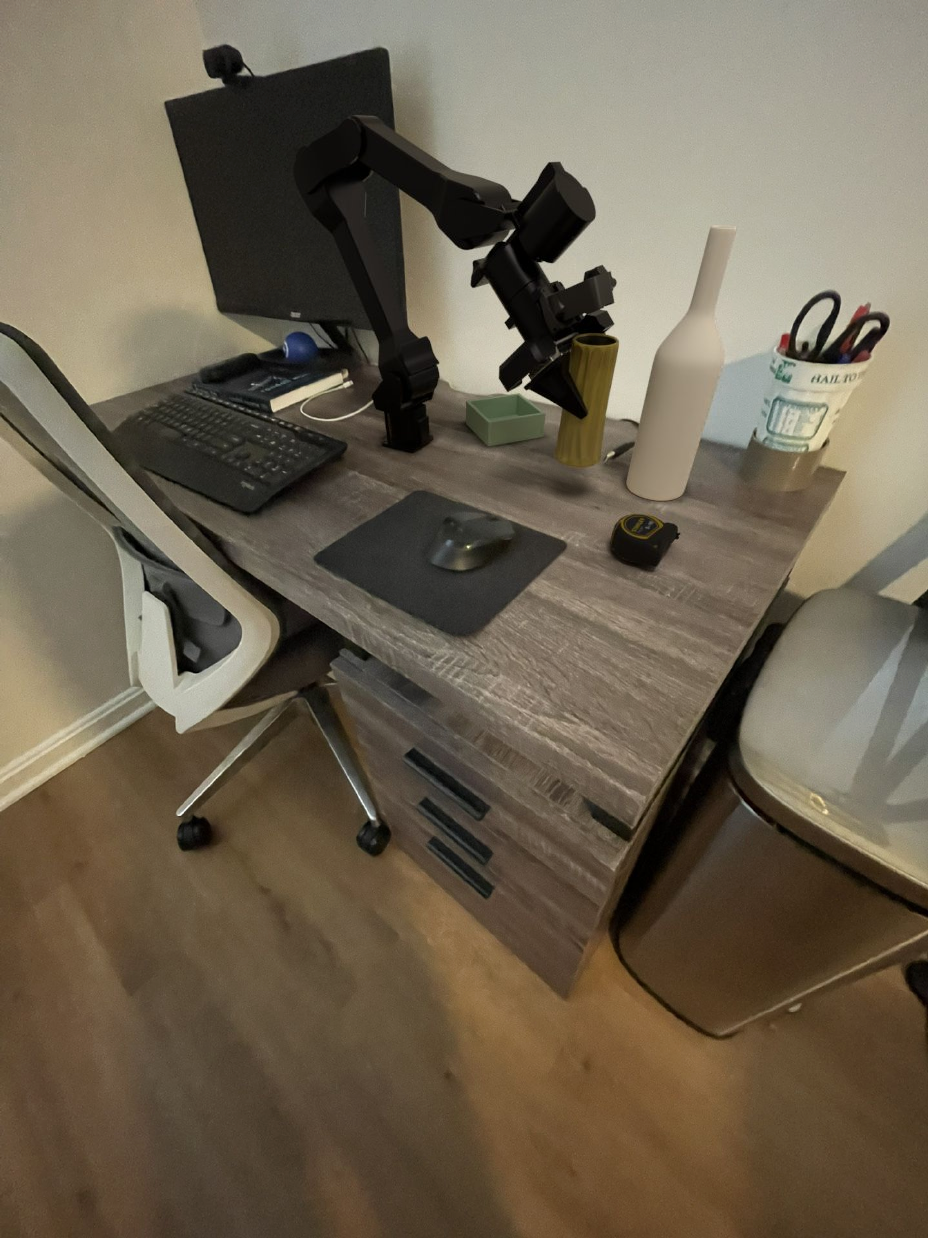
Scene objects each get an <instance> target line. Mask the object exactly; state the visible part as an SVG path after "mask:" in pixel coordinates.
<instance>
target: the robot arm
mask: <svg viewBox="0 0 928 1238" xmlns="http://www.w3.org/2000/svg"><path fill="white" fill-rule="evenodd" d="M374 173H375V174H377V175H378V176H380V177H381V178H383V179H384V180H385V181H387V182H388V183H390V184H391V185H393V186H394V187H396V188H397V189H398V190H400V191H401V192H403V193H404V194H406V195H407V196H409V197H410V198H411V199H413V200H414V201H416V202H417V203H418V204H420V205H421V206H423V207H424V208H425V209H426V210H428V211H429V212H430V214H432V217H433V219H434V222H435V224H436V226H437V228H438V229H439V230H440V231H441V232H442V233H443V234H444V236H446V237H447V238H448V239H449V240H450V242H451V243H453V245H454V246H456V248H458V249H460V250H462V251H472V250H475V249H481V248H486V247H490V246H492V247H491V249H490V250H489V251H488V253H487V254H486V255H485V256H484V257H481V258H478V259H474V260H472V271H471V274H470V287H471V288H472V289H476V288H479V287H482V286H487V285H489V286H490V287H491V289H492V291H493V293H494V294H495V296H496V297H497V300H499V302H500V303H501V305H502V307H503V308H504V310H505V312H506V313H507V316H508V318H507V319H506V320H505V321H504V322H503V323H504V325H505V326H506V328H507V330H508V331H510V330H512V329H515V328H516V330H517V331H518V333H519V335H520V336H521V338H522V340H523V342H522V343H521V344H520V345H519V346H518V347H517V348H516V349H515V350H514V351H513V352H512V353H511V354H510V355H509V356H508V357H507V358H506V359H504V361H503V362H502V363H501V364H500V365H499V366H498V380H499V381H500V384H501V385H502V386H503V388H504V389H505V391H506V393H509V392H511V391H513V390H515V389H517V388H519V387H520V386H521V385H523V379H525V378H526V377H527V376H528V378H529V379H530V380H529V382H527V383H526V384H525V385H524V386H523V389H524V390H525V391H531V392H532V393H535V394H536V395H538V396H541V397H542V398H544V399H546V400H547V401H550V402H551V403H553V404H555V405H556V406H558V407H560V408H561V409H562V408H563V409H564V410H566V411H568V412H569V413H571V414H572V415H574V416H576V417H577V418H579V419H583V418H585V417H586V416H587V415H588V411H587V409H586V406H585V404H584V401H583V399H582V397H581V395H580V393H579V391H578V389H577V387H576V385H575V383H574V381H573V378H572V376H571V374H570V372H569V364H570V354H571V347H572V340H573V338H574V337H575V336H577V335H580V334H588V333H597V334H606V333H607V331H609V330H610V329H611V328H612V327H614V326H615V322H614V320H613V318H612V317H611V315H610V313H609V311H608V310H605V307H608V306H610V305H613V304H615V298H614V297H615V296H614V293H613V292H614V289H615V287H616V286H617V279H616V278H615V277H613V276H612V270H609V271H608V269H606V267H605V266H604V265H603V264H601V265H598V266H595V267H594V268H591V269H589V270H586V271H584V274H583V280H582V281H580V282H577V283H576V284H573V285H571V286H568V287H567V288H566V287H565V285H564V284H563V282H562V281H559V280H555V281H550V280H549V277H548V276H547V275H546V273H545V271H544V269H543V268H542V266H541V263H544V262H545V263H547V264H555V263H557V261H558V260H559V259H560V258H561V257H562V256H563V255H564V254H565V253H566V252H567V250H568V249H570V247H571V246H572V245H573V244H574V242H575V241H576V240H577V239H578V238H579V237H581V235H582V234H583V233H584V232H585V230H586V229H587V228H589V226H590V225H591V224H592V223H593V222H594V221H595V219H596V217H597V215H596V214H597V210H596V205H595V203H594V200H593V198H592V195H591V194H590V191H589V189H588V188H587V187H585V186H583V185H582V184H581V183H580V181H579V180H578V179H577V177H575V176H574V175H572V174H571V173H570V172H569V171H567V170H566V169H565V168H564V166H563V164H562V163H561V161H548V162H547V163H546V165H545V166H544V167H543V169H542V170H541V172H540V173H539V176H538V178H537V180H536V181H535V183H534V184H533V185H532V187H531V188H530V190H529V191H528V192H527V193H526V195H525V196H524V198H523V199H522V200H520V199H516V198H512V195H511V193H510V191H509V190H508V189H507V188H506V187H505V186H504V185H503V184H501V183H499V182H496V181H493V180H490V179H487V178H485V177H482V176H477V175H473V174H469V173H464V172H460V171H457V170H455V169H452V168H451V167H449V166H448V165H446V164H444V163H443V162H442V161H439V160H438V159H437V158H436V157H434V156H432V155H431V154H429V153H428V152H426V151H424V150H423V149H422V148H420V147H419V146H417V145H415V143H413V142H411V141H409V140H408V139H407V138H405V137H404V136H402V135H401V134H399V133H398V132H396V131H395V130H394V129H392V128H391V127H389V126H388V125H387V124H386V123H385V122H384V121H383V120H382V119H380V118H379V117H378V116H375V115H361V114H359V115H357V114H352V115H349V116H347V118H345V119H343V120H342V122H341V123H340V124H339V125H338V126H337V127H336V128H334V129H331V131H329V132H327V133H326V134H324V135H321V136H320V137H319V138H317V139H315V140H313V141H312V142H311V143H310V144H309V145H302V146H300V147H299V148H298V150H297V152H296V154H295V158H294V161H293V166H292V176H293V180H294V184H295V187H296V189H297V191H298V193H299V195H300V196H301V198H302V200H303V202H304V203H305V205H306V208H307V209H308V211H309V212H310V214H311V216H312V217H313V218H314V219H315V220H316V221H318V222H319V224H321V225H322V227H324V228H325V230H327V231H328V232H329V233H330V235H332V237H333V240H334V242H335V245H336V246H337V249H338V251H339V253H340V256H341V259H342V261H343V262H344V266H345V267H346V270H347V273H348V275H349V277H350V279H351V281H352V284H353V286H354V289H355V291H356V293H357V295H358V297H359V301H360V303H361V305H362V307H363V309H364V312H365V314H366V317H367V319H368V321H369V324H370V326H371V328H372V331H373V334H374V336H375V338H376V340H377V343H378V356H377V368H378V371H379V374H380V378H381V382H380V383H379V385H377V387H376V388H375V389H374V391H373V392H372V394H371V395H370V396H371V400H372V402H373V406H374V408H375V410H376V411H380V412H382V413H383V419H384V427H385V435H386V438H385V439H383V440H381V441H380V445H381V446H385V447H387V448H392V449H395V450H400V451H404V452H408V453H415V452H417V451H418V450H420V449H421V448H422V447H424V446H425V445H427V444H428V443H429V442H431V441H433V440H434V435H433V434H431V433H430V431H431V429H430V418H429V417H430V416H429V414H427V403H426V402H429V401H432V400H433V397H434V393H435V390H436V389H437V386H438V384H439V379H440V378H441V375H440V370H439V367H438V365H440V360H439V359H438V358H437V356H436V355H435V352H434V350H433V346H432V342H431V340H430V338H429V337H428V335H423V336H421V337H418V336H417V335H416V333H414V332H413V331H412V330H411V329H410V327H409V325H408V324H409V323H408V322H407V320H406V318H405V315H404V312H403V310H402V307H401V305H400V303H399V299H398V297H397V295H396V292H395V289H394V287H393V284H392V282H391V280H390V277H389V275H388V272H387V270H386V267H385V265H384V263H383V259H382V257H381V255H380V252H379V250H378V248H377V245H376V243H375V241H374V238H373V236H372V235H373V234H372V232H371V230H370V228H369V225H368V222H367V219H366V204H367V191H366V188H365V184H364V182H366V181H367V180H368V179H369V178H370V177H372V175H373V174H374ZM511 231H512V232H511ZM510 232H511V234H510V235H509V233H510ZM508 236H509V237H508ZM507 237H508V238H507ZM506 238H507V239H506ZM505 239H506V240H505ZM504 240H505V241H504ZM584 314H585V315H584ZM606 335H607V334H606ZM425 403H426V404H425Z"/></svg>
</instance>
